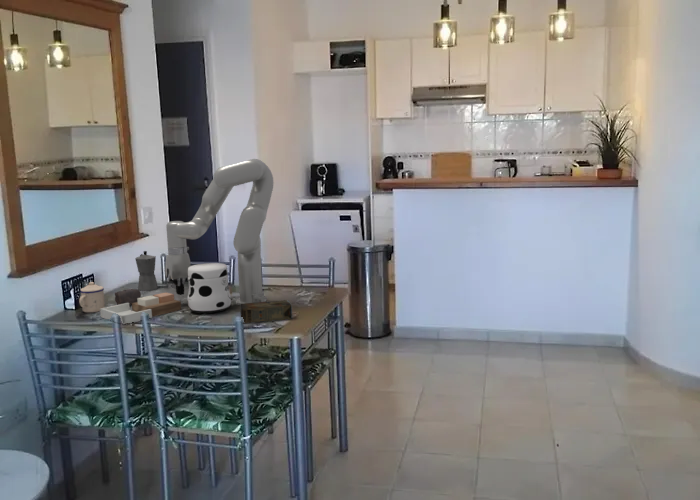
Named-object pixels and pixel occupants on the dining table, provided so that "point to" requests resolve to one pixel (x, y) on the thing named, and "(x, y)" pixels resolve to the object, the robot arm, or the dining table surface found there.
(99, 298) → the teacup with lid
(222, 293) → the milk container
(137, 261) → the coffeepot
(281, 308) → the beverage carton
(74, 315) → the dining table surface
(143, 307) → the brown square slab
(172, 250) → the robot arm
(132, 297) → the perforated stone tool
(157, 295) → the terracotta tile
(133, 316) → the tray
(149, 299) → the cream tile
